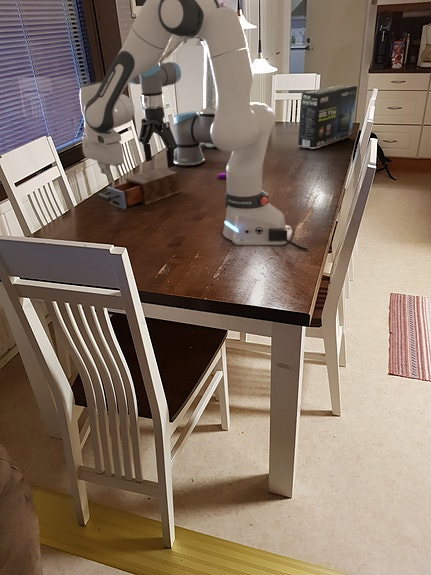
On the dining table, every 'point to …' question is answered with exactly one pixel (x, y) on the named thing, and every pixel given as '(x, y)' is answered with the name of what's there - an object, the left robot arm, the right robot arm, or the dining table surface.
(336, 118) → the router box
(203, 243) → the dining table surface
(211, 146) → the fossil
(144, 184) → the cabinet
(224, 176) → the handgun
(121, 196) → the drawer
